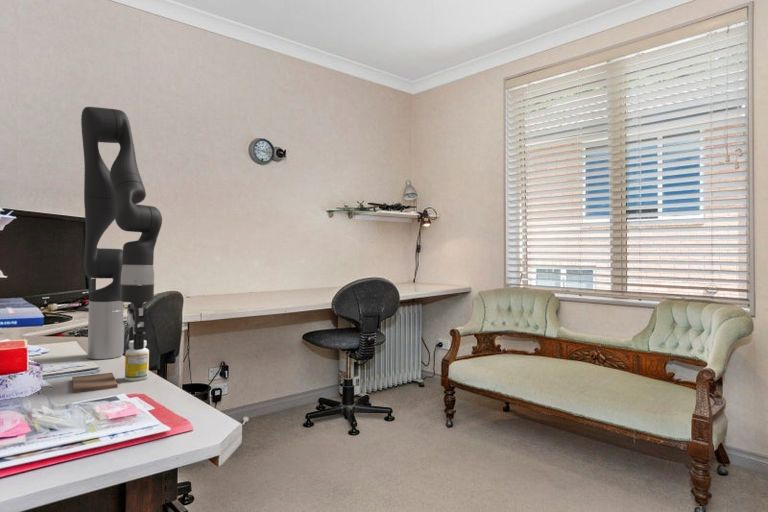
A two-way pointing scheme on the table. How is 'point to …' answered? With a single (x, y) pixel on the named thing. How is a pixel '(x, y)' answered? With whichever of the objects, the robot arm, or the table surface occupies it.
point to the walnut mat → (94, 382)
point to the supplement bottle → (136, 363)
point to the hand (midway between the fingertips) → (135, 346)
